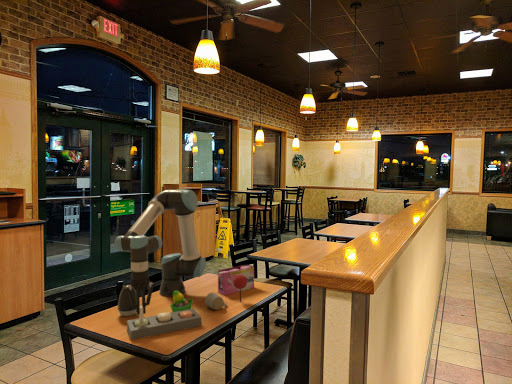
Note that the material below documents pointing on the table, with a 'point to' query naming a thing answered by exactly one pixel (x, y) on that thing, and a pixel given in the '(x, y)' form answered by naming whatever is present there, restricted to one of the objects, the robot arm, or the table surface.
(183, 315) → the terracotta button
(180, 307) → the fruit basket
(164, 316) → the cream button
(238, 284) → the lollipop
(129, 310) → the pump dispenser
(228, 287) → the gum box
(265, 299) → the table surface
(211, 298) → the ceramic mug
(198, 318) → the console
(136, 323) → the sage button
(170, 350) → the table surface
